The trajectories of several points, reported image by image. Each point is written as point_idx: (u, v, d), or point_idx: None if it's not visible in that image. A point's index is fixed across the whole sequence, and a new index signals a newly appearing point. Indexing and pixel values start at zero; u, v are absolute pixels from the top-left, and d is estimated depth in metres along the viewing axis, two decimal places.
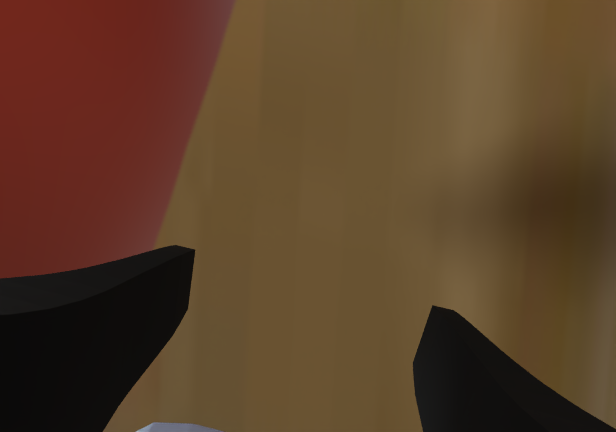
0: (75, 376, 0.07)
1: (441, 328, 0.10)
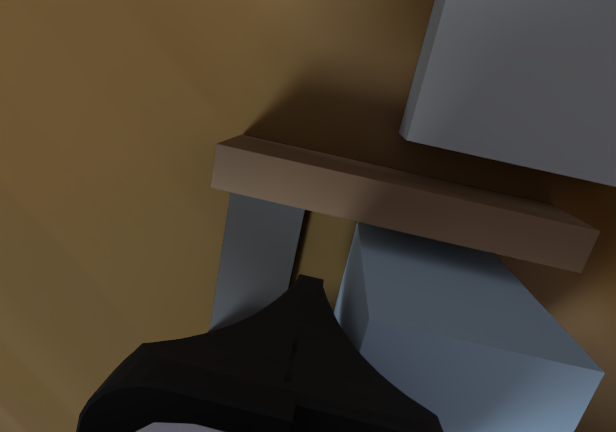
0: None
1: None
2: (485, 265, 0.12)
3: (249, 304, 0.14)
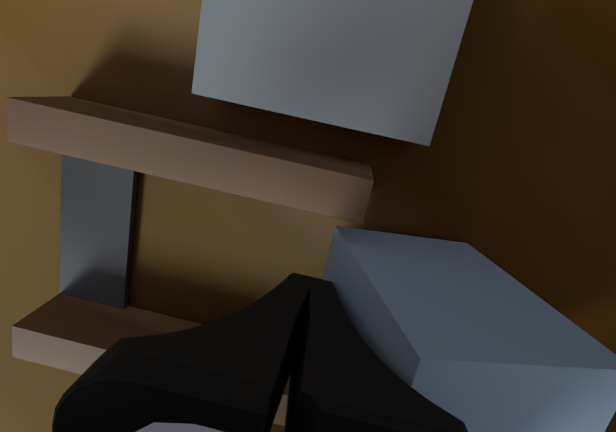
0: (268, 424, 0.07)
1: (307, 297, 0.11)
2: (473, 261, 0.12)
3: (93, 267, 0.15)
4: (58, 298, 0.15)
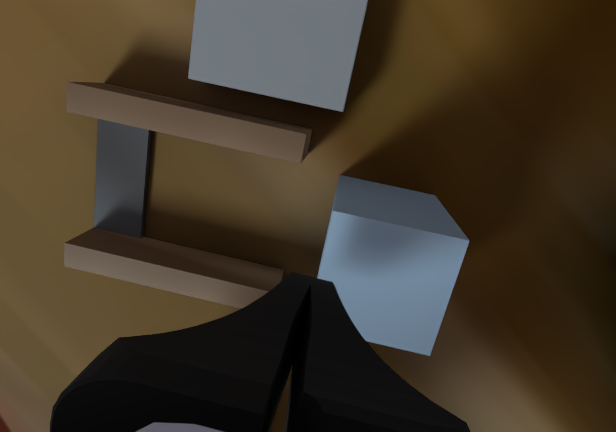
0: (267, 424, 0.07)
1: (308, 297, 0.11)
2: (424, 200, 0.17)
3: (119, 207, 0.20)
4: (93, 230, 0.20)
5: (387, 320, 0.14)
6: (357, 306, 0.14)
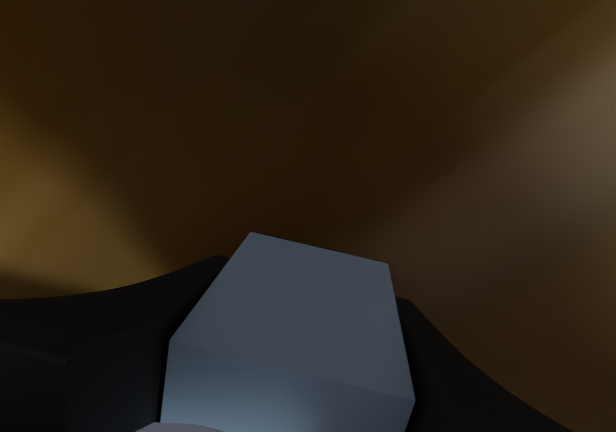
0: (143, 393, 0.07)
1: None
2: None
3: None
4: None
5: None
6: None
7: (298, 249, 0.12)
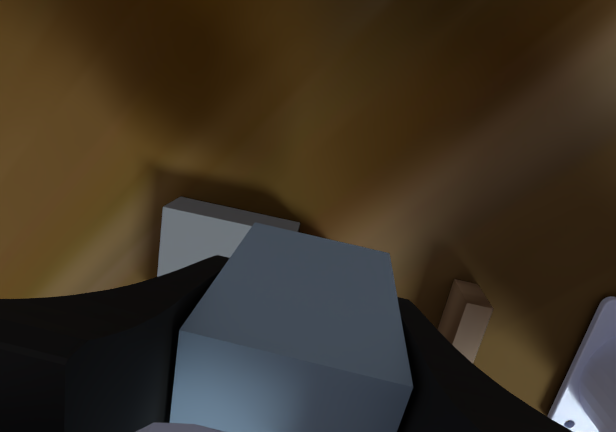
0: (143, 393, 0.07)
1: None
2: None
3: None
4: None
5: None
6: None
7: (301, 239, 0.13)
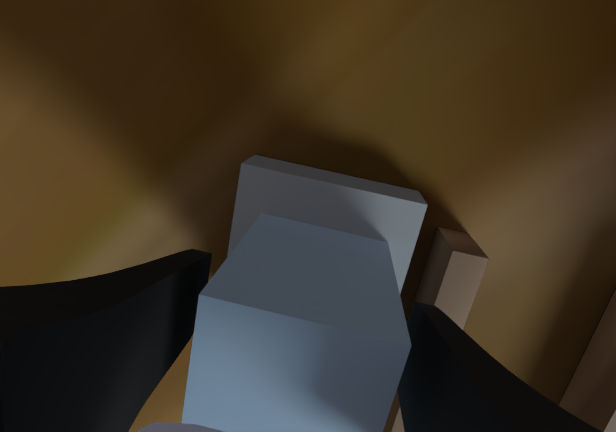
0: (102, 383, 0.07)
1: (422, 324, 0.10)
2: None
3: None
4: None
5: (343, 402, 0.09)
6: None
7: (305, 228, 0.14)
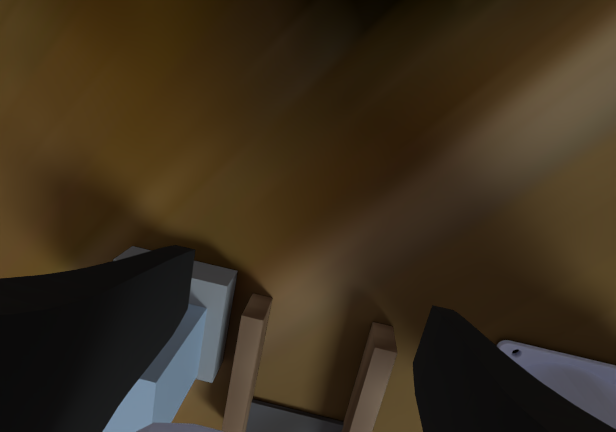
0: (75, 376, 0.07)
1: (441, 328, 0.10)
2: None
3: None
4: None
5: (129, 411, 0.17)
6: (121, 430, 0.17)
7: None
